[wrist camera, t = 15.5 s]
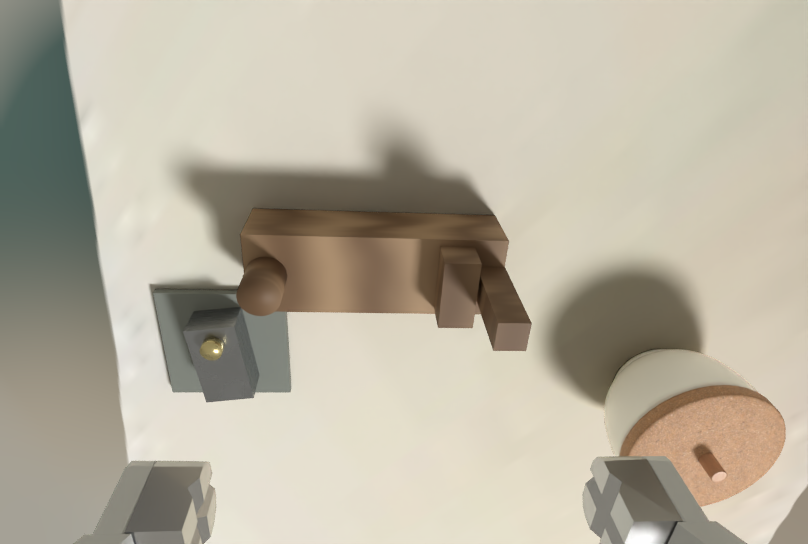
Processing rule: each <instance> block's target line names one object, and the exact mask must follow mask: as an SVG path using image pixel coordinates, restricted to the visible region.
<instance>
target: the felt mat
mask: <svg viewBox="0 0 808 544" xmlns="http://www.w3.org/2000/svg"><path fill="white" fill-rule="evenodd" d="M236 293H237V290H188V289H155V291H154V292H153V296H154V301H155V306H156V311H157V316H158V321H159V326H160V331H161V336H162V341H163V346H164V351H165V356H166V361H167V366H168V371H169V376H170V381H171V386H172V391H173V392H203V390H202V387H201V384H200V381H199V378H198V375H197V372H196V369H195V366H194V363H193V360H192V357H191V354H190V351H189V348H188V345H187V342H186V339H185V337H184V334H183V331H184V329H185V327H186V325H187V323H188V321H189V319H190V317H191V315H192V313H193V311H200V310H211V309H222V308H232V307H240V306H239V304H238V302H237V298H236ZM242 310H243V309H242ZM243 314H244V317H245V321H246V325H247V329H248V333H249V337H250V340H251V344H252V348H253V352H254V356H255V359H256V363H257V367H258V371H259V375H260V376H259V379H258V383H257V387H256V391H255V392H291V376H290V359H289V342H288V325H287V312H274V313H272V314H270V315H267V316H255V315H251V314H249V313H247V312H246V311H244V310H243Z"/></svg>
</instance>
